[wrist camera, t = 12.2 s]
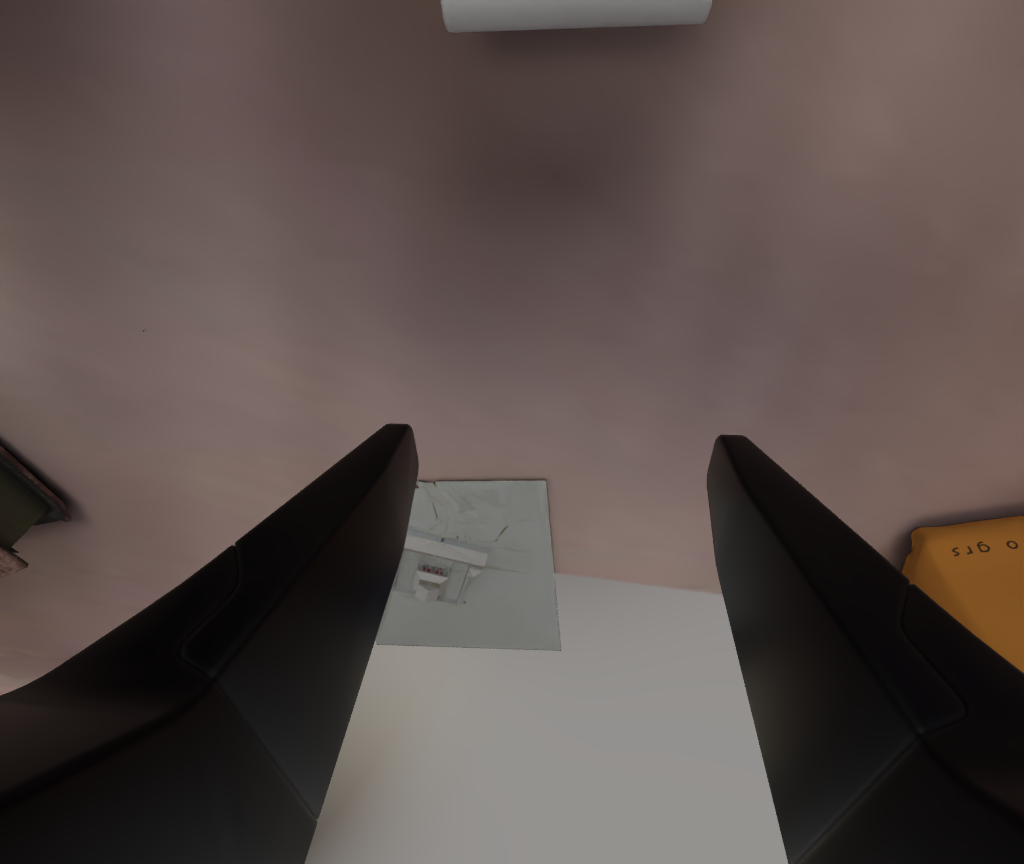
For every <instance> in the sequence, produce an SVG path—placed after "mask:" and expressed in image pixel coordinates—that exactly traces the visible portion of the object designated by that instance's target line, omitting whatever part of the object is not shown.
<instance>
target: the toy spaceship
mask: <svg viewBox="0 0 1024 864" xmlns="http://www.w3.org/2000/svg"><path fill="white" fill-rule="evenodd" d="M143 331H145V330H143ZM417 484H418V487H419V489H417V488H415V492H414V498H413V503H412V508H411V514H410V519H409V525H408V530H407V535H406V540H405V545H404V549H403V553H402V556H401V560H400V563H399V566H398V569H397V573H396V576H395V579H394V582H393V585H392V588H391V591H390V595H389V598H388V601H387V604H386V607H385V610H384V614H383V617H382V620H381V623H380V626H379V629H378V632H377V636H376V639H375V641H376V643H377V645H401V646H432V647H433V646H434V647H462V648H493V649H495V648H496V649H525V650H554V651H561V643H560V632H559V621H558V611H557V598H556V587H555V576H554V565H553V554H552V543H551V532H550V521H549V510H548V499H547V487H546V481H438V482H435V484H436V487H435V485H434V484H433V483H424V482H417Z"/></svg>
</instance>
